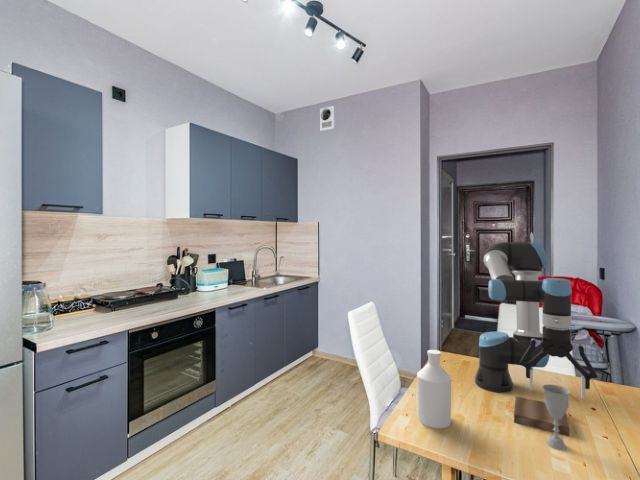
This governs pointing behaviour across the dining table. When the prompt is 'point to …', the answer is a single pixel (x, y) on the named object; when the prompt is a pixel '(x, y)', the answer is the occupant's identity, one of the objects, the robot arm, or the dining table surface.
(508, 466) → the dining table surface
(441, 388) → the bottle
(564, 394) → the chalice
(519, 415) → the plinth
